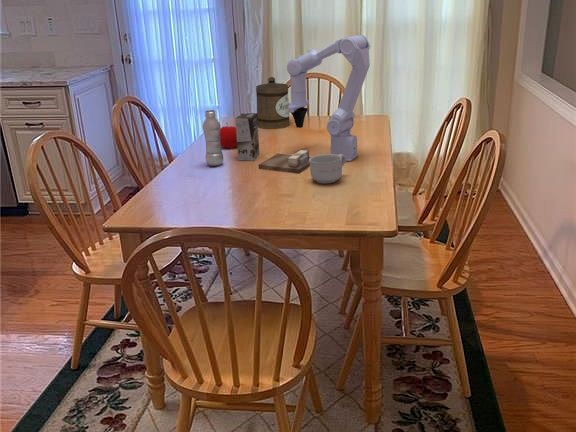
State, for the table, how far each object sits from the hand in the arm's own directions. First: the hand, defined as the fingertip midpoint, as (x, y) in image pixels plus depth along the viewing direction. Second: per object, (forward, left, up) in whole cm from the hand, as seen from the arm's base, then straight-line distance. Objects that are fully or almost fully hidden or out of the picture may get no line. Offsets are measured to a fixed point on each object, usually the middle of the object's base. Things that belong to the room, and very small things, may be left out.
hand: (299, 127), depth 219 cm
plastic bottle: (+22, +27, -10) cm, 36 cm away
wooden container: (+30, -35, -10) cm, 47 cm away
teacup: (-24, +28, -10) cm, 38 cm away
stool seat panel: (-4, +18, -9) cm, 21 cm away
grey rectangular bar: (-8, +18, -8) cm, 21 cm away
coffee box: (+15, +14, -10) cm, 23 cm away
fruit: (+30, +4, -10) cm, 32 cm away
